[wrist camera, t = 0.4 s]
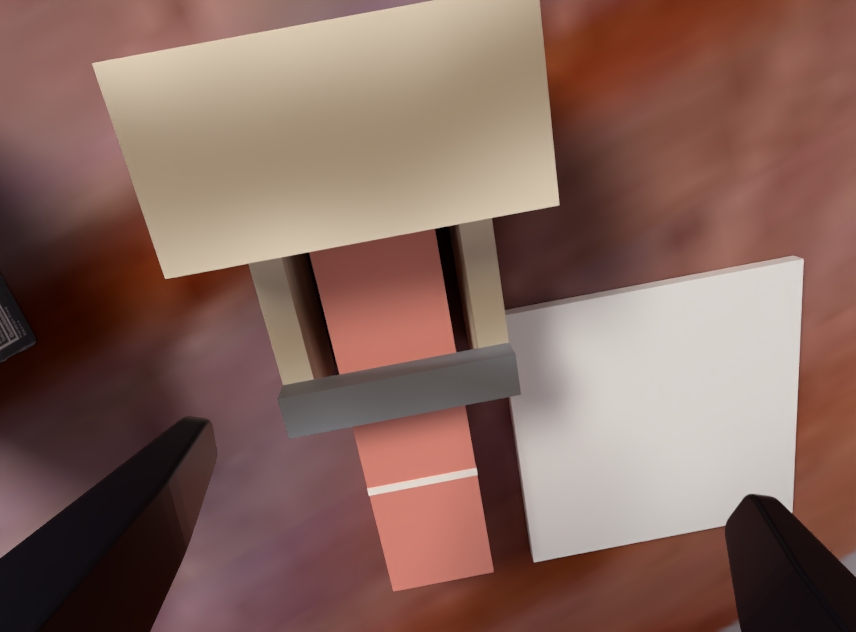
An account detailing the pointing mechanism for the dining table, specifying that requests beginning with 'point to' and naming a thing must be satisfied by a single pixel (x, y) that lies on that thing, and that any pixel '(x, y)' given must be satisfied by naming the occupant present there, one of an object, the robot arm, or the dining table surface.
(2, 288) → the small box
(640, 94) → the dining table surface
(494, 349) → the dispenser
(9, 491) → the dining table surface
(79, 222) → the dining table surface
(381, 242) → the pink striped block
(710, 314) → the tile
